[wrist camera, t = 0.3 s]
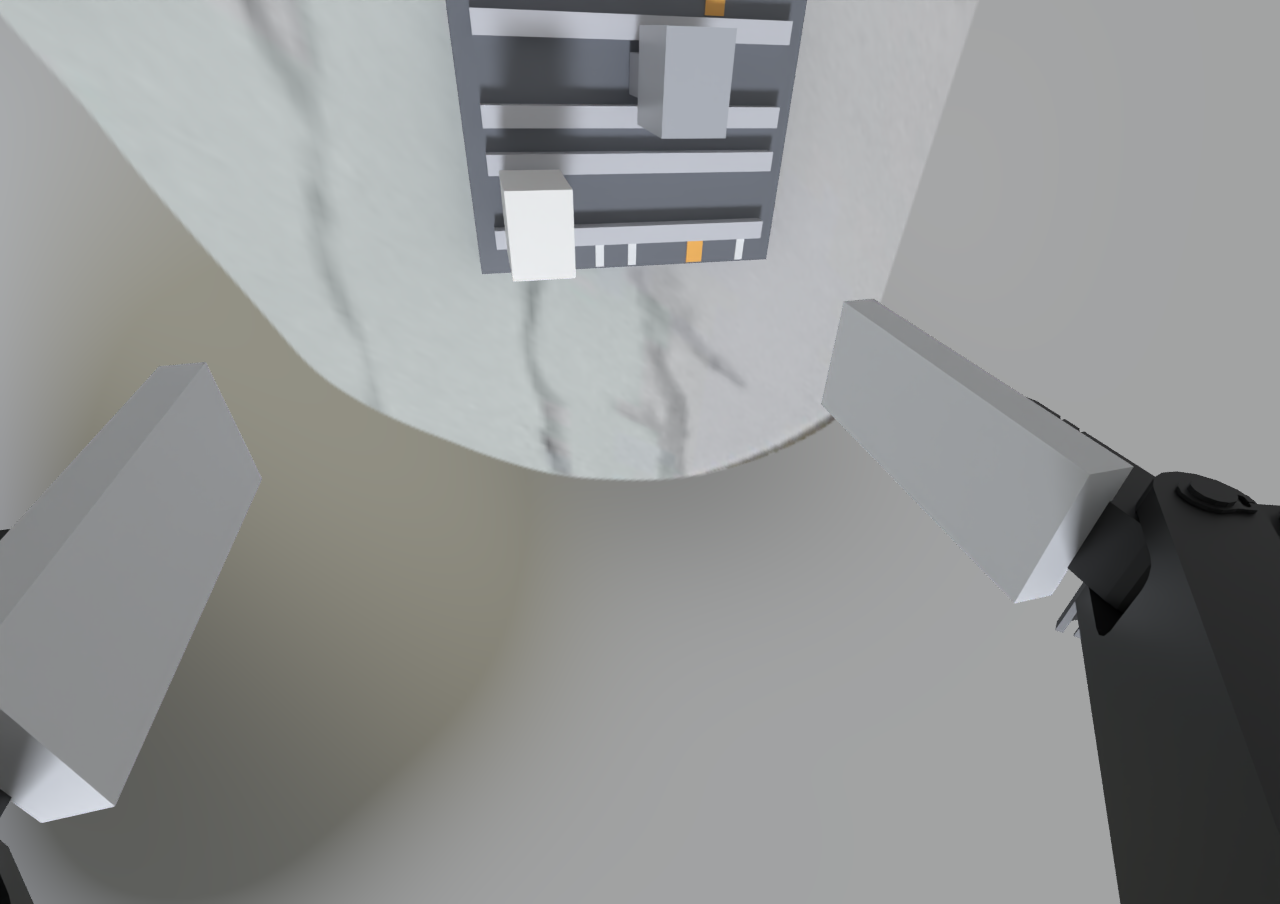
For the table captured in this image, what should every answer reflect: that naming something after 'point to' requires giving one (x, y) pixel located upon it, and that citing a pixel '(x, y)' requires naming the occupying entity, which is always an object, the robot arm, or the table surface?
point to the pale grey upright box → (683, 80)
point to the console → (622, 126)
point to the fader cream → (538, 224)
